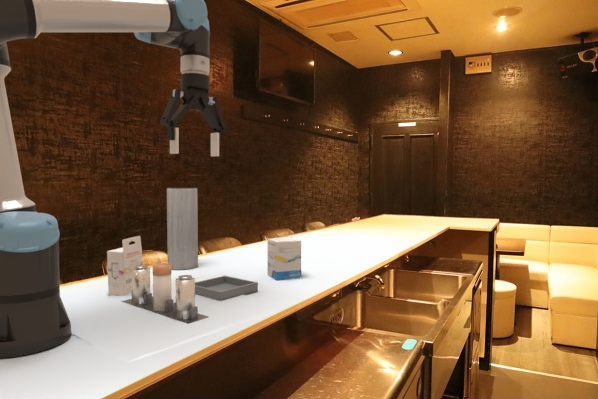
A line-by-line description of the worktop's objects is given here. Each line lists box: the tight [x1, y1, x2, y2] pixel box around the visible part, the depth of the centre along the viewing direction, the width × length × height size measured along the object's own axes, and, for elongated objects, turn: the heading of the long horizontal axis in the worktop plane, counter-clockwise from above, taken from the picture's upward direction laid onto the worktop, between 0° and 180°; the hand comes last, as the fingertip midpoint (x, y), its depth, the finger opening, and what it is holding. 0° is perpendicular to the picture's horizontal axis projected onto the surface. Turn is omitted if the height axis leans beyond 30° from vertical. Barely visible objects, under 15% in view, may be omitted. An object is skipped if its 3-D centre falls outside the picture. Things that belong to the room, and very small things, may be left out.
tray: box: [195, 275, 259, 302], centre depth 113 cm, size 13×13×2 cm
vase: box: [166, 187, 199, 271], centre depth 146 cm, size 10×10×27 cm
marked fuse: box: [152, 262, 173, 311], centre depth 98 cm, size 4×4×10 cm
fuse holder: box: [120, 264, 209, 325], centre depth 98 cm, size 6×26×9 cm, turn 52°
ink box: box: [267, 236, 302, 281], centre depth 133 cm, size 9×8×12 cm
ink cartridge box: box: [106, 235, 143, 297], centre depth 113 cm, size 9×5×15 cm, turn 169°
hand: (195, 155), depth 115 cm, fingers open, 13 cm apart
